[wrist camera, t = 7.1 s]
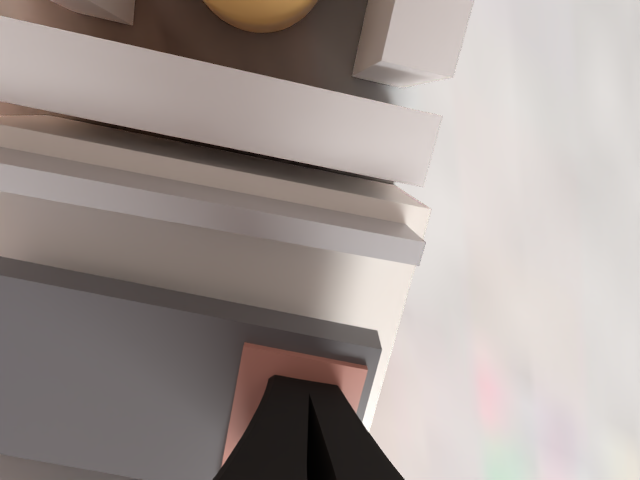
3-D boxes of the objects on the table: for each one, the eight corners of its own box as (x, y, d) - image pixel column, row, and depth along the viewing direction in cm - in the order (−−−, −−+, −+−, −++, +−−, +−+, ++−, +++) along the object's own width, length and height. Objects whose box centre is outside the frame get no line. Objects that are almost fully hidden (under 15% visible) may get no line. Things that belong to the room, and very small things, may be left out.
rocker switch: (-13, 421, 10) (-48, 452, 9) (-11, 253, 9) (-50, 269, 8) (335, 483, 10) (337, 520, 9) (377, 330, 9) (383, 353, 8)
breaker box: (35, 394, 14) (-89, 534, 10) (48, 115, 12) (-105, 116, 7) (332, 431, 16) (353, 571, 11) (394, 184, 13) (456, 225, 9)
